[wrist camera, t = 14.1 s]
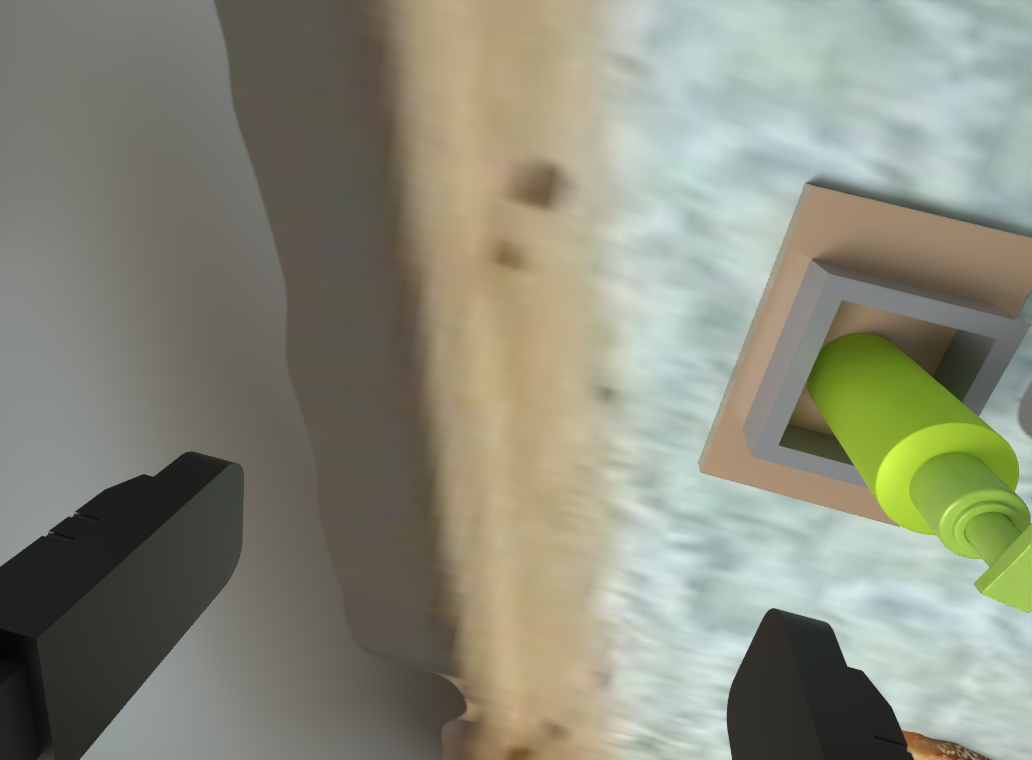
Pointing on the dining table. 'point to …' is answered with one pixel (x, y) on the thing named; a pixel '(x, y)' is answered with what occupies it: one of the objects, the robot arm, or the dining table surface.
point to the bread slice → (937, 749)
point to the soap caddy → (863, 309)
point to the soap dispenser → (927, 458)
